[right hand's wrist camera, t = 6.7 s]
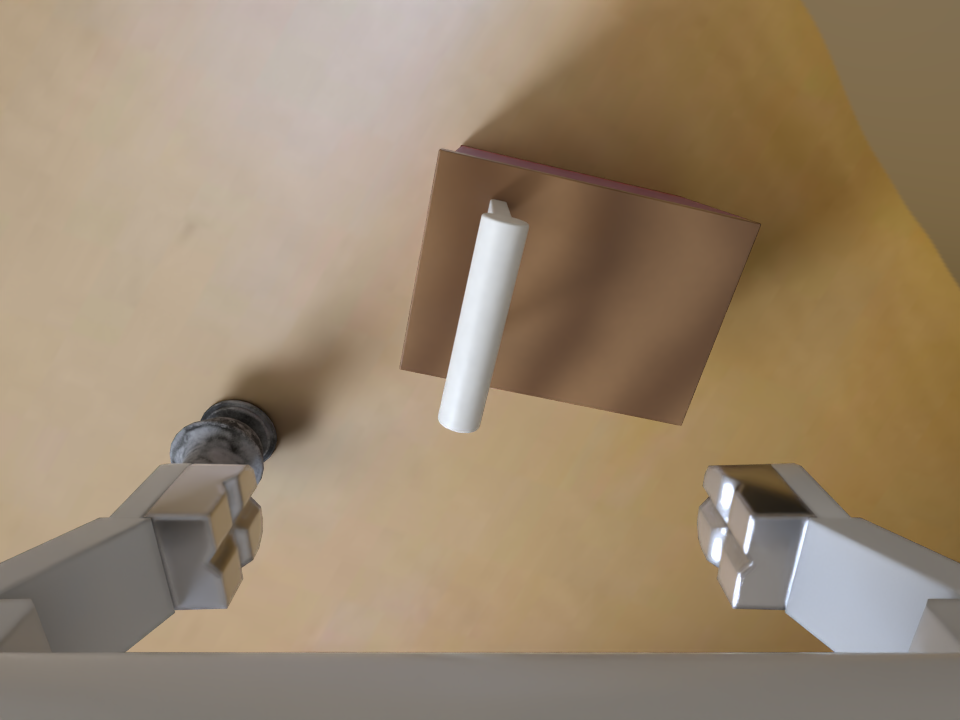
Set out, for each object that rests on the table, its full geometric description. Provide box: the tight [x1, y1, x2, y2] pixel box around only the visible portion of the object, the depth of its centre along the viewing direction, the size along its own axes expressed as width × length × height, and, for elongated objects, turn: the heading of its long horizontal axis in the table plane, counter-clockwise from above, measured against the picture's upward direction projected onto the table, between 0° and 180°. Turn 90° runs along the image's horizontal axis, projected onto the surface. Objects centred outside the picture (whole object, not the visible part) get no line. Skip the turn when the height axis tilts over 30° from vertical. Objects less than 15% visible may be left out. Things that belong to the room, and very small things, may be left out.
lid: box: [400, 148, 761, 433], centre depth 23 cm, size 14×10×8 cm
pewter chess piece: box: [170, 400, 277, 485], centre depth 34 cm, size 6×6×12 cm
